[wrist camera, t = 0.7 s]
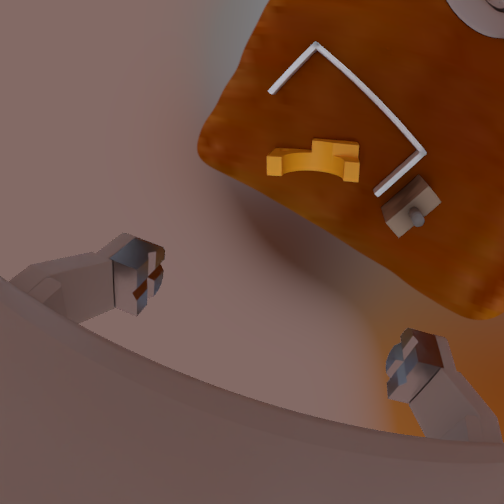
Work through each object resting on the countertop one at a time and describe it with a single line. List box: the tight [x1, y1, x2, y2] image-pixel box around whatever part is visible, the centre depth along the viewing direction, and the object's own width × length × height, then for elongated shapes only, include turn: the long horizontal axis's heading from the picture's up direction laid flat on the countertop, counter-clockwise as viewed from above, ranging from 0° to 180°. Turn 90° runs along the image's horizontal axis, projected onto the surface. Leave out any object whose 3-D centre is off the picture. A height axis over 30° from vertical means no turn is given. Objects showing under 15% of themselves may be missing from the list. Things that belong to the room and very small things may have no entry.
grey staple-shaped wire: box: [268, 41, 427, 197], centre depth 40 cm, size 10×22×2 cm, turn 50°
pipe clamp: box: [267, 138, 360, 182], centre depth 42 cm, size 12×4×6 cm, turn 91°
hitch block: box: [381, 175, 441, 237], centre depth 40 cm, size 8×3×9 cm, turn 140°
